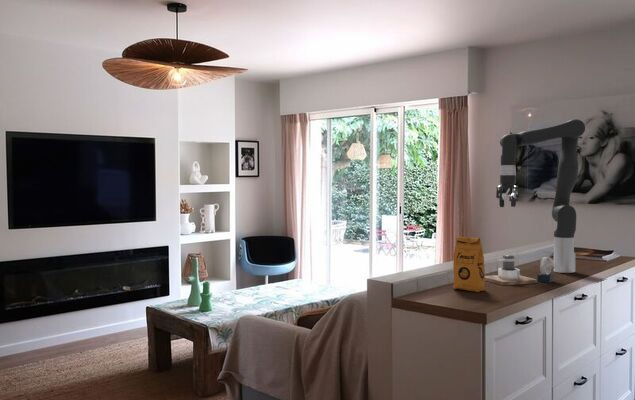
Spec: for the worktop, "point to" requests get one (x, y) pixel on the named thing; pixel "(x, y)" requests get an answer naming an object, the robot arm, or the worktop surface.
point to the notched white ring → (509, 274)
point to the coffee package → (469, 264)
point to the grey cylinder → (508, 262)
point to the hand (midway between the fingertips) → (507, 206)
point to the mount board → (510, 282)
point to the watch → (546, 270)
